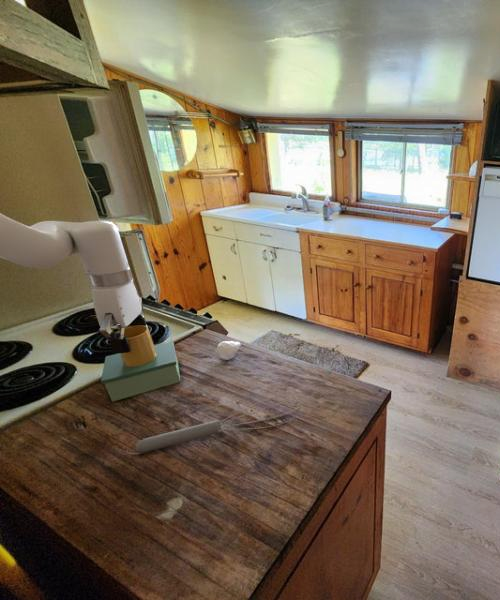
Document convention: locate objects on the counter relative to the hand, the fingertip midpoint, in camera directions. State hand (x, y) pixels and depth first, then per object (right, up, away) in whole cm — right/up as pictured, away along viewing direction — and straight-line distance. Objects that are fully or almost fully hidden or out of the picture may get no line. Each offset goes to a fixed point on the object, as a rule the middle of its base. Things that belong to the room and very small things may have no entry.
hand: (132, 341), depth 81 cm
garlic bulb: (+16, -6, +17) cm, 24 cm away
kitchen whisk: (+28, -19, -10) cm, 36 cm away
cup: (0, -5, +2) cm, 5 cm away
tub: (0, -11, +5) cm, 12 cm away
